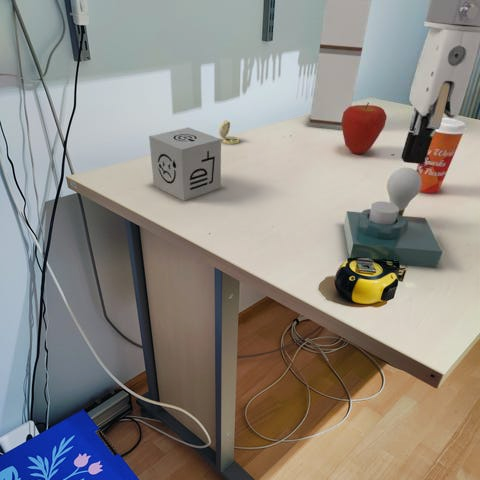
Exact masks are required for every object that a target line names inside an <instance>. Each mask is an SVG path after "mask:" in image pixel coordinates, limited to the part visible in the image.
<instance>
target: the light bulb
mask: <svg viewBox="0 0 480 480" xmlns="http://www.w3.org/2000/svg"><path fill="white" fill-rule="evenodd" d="M416 170H417V169H414V168H413V167H409V166H408V167H407V166H406V167H400V168H398V169H396V170H395V171H393V172H392V173H391V175H390V176H389V178H388V180H387V183H386V190H387V194H388V197H389V203H392V204H395V205H396V206H398V207H399V212H398V214H399V215H400V216H404V212H405V211H406V208H407V207H408V206H409V204H410V202H411V201H413V200H414V198H416V197H417V196H418V195H419V193H420V192H419V191H420V189H421V185H422V180H421V177H420V175H419V173H418V172H417V171H416Z"/></svg>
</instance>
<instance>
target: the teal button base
mask: <svg viewBox="0 0 480 480" xmlns="http://www.w3.org/2000/svg"><path fill="white" fill-rule="evenodd" d="M370 210H371V208H368V209H367V208H366V209H364V210H362V211H350V210H349V211H346V213H345V217H344V223H343V230H344V235H345V241H346V248H347V253H348V254H347V255H348V259H349V258H353V257H362V258H369V259H388V260H396V261H399V263H400V264H399V265H403V266H404V265H406V266H415V267H417V266H418V267H426V268H437V267H438V265H439V262H440V259H441V257H442V255H443V250H442V247H441V246H440V243H439V241H438V240H437V238H436V236H435V234H434V231H433V230H432V228H431V226H430V224H429V222H428V221H427V219H426V217H420V216H410V215H409V216H406V215H402V216H400V215H399V214H398V216H397V219H396V222H395V224H393V225H381V224H377V223H374V222H372V221H371V220H369V214H370Z"/></svg>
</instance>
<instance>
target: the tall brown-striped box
mask: <svg viewBox="0 0 480 480" xmlns="http://www.w3.org/2000/svg"><path fill="white" fill-rule="evenodd" d="M372 1H373V0H325V7H324V15H323V21H322V29H321V36H320V43H319V51H318V57H317V65H316V71H315V79H314V88H313V93H312V94H313V95H312V100H311V101H312V103H311V107H310V115H309V124H308V127H312V128H322V129H331V130H339V131H343V129H342V117H343V113H344V111H345V110H346V109H347V108H348V107H351V106H353V105H352V104H353V99H354V94H355V89H356V83H357V79H358V73H359V68H360V62H361V58H362V54H363V47H364V44H365V43H364V42H365V36H366V32H367V28H368V27H367V26H368V22H369V16H370V12H371V11H370V10H371V5H372Z"/></svg>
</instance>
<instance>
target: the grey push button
mask: <svg viewBox="0 0 480 480" xmlns="http://www.w3.org/2000/svg"><path fill="white" fill-rule="evenodd" d="M370 209H371V210H370V214H369V220H371V221H372V222H374V223H377V224H381V225H393V224H395V222H396V219H397V216H398V212H399V207H398V206H396V205H395V204H392V203H390V201H381V200H380V201H375V202H373V203H372V204H371V207H370Z"/></svg>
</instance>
